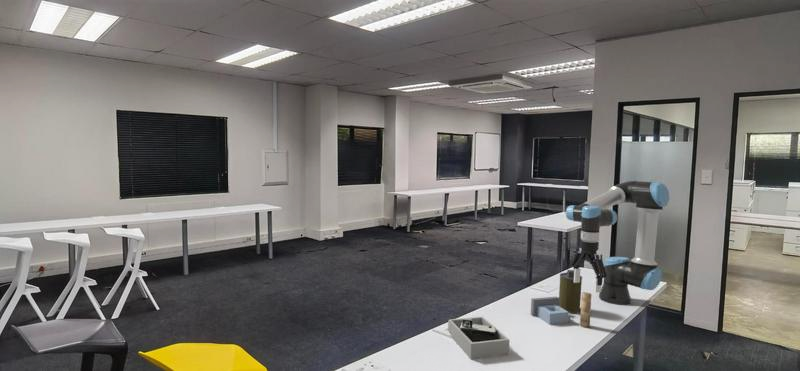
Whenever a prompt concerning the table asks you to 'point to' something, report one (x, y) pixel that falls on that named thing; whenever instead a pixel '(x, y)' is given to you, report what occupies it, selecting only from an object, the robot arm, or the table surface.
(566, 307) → the canister
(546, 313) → the block
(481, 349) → the tray
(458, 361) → the table surface
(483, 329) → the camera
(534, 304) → the wall
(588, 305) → the dowel
